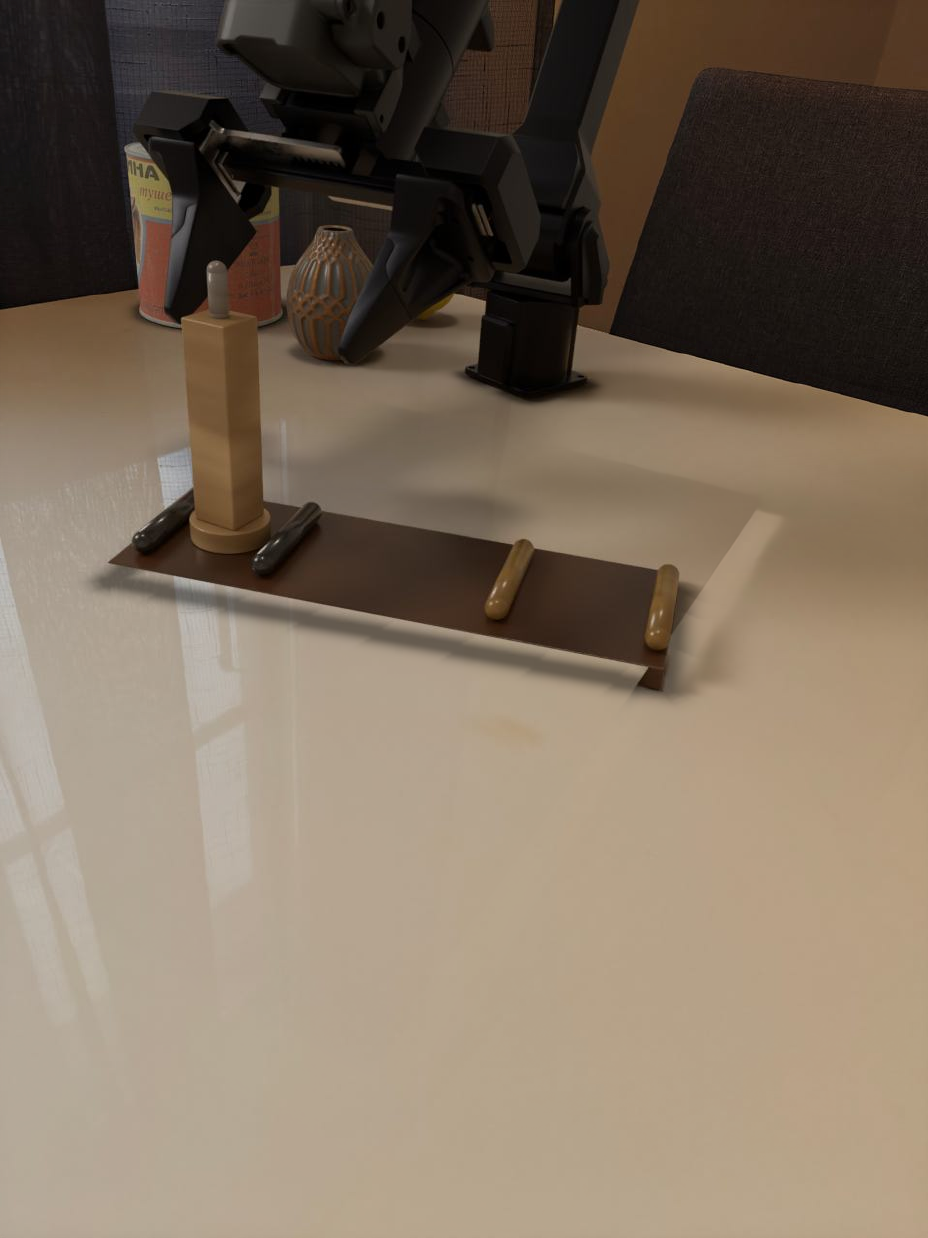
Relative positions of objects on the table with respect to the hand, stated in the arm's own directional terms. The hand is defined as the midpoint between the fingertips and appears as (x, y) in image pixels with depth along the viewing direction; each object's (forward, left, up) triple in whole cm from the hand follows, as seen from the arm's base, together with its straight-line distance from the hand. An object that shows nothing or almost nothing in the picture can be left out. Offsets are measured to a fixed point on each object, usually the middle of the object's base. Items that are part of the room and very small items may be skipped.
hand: (255, 338), depth 44 cm
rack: (-2, +8, -10) cm, 12 cm away
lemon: (-33, -26, -10) cm, 43 cm away
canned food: (-19, -36, -10) cm, 42 cm away
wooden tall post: (+2, +1, -9) cm, 9 cm away
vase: (-21, -22, -10) cm, 32 cm away
